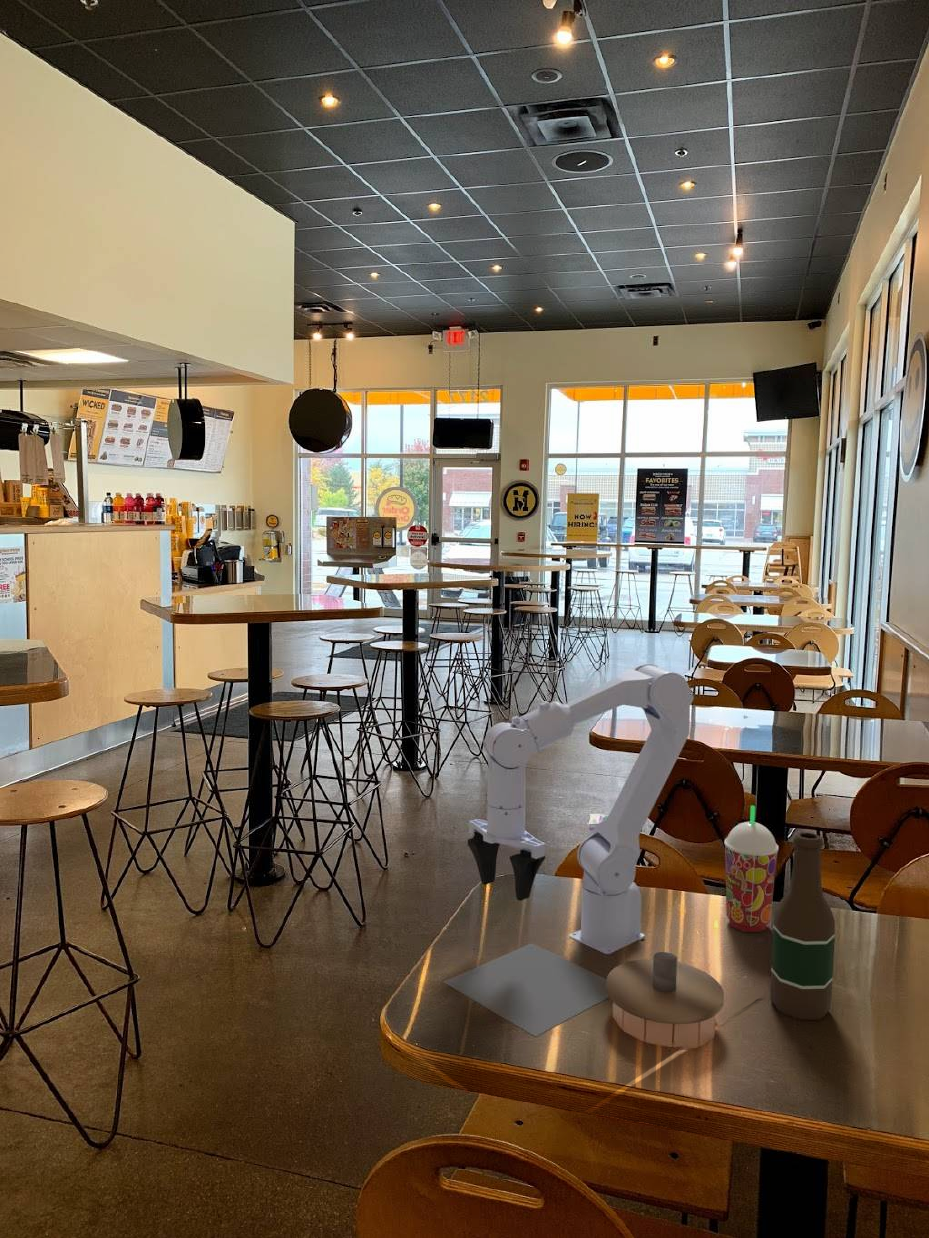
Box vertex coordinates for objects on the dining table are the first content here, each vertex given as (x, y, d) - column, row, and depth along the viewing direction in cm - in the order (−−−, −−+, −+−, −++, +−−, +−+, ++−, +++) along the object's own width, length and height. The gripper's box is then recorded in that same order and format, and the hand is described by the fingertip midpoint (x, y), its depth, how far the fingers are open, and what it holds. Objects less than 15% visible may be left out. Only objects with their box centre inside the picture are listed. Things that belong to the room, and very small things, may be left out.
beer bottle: (829, 997, 124) (838, 829, 122) (832, 1026, 117) (842, 848, 114) (769, 987, 127) (777, 822, 124) (769, 1015, 119) (777, 841, 117)
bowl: (653, 985, 127) (654, 958, 127) (734, 1023, 117) (735, 994, 117) (593, 1018, 118) (594, 989, 118) (676, 1062, 109) (677, 1031, 108)
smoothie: (715, 913, 151) (720, 797, 148) (765, 914, 150) (771, 798, 148) (728, 936, 142) (733, 814, 140) (781, 937, 142) (787, 815, 140)
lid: (655, 953, 128) (656, 921, 127) (747, 997, 116) (748, 962, 116) (582, 987, 118) (583, 952, 118) (674, 1038, 107) (675, 1000, 106)
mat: (531, 946, 138) (531, 942, 138) (624, 991, 125) (624, 988, 125) (443, 985, 126) (443, 981, 126) (535, 1040, 113) (535, 1036, 113)
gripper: (454, 797, 138) (454, 882, 139) (522, 821, 127) (520, 913, 128) (488, 788, 142) (487, 871, 144) (555, 811, 131) (554, 899, 133)
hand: (505, 890), depth 136 cm, fingers open, 7 cm apart
